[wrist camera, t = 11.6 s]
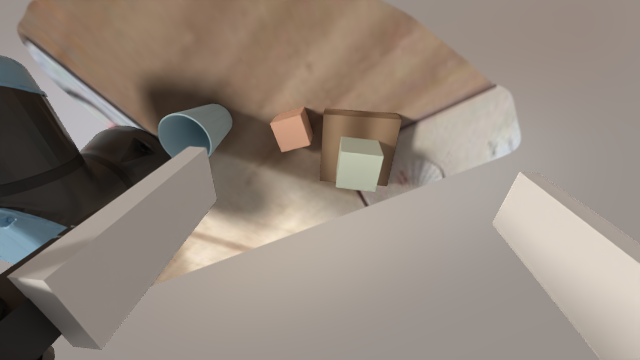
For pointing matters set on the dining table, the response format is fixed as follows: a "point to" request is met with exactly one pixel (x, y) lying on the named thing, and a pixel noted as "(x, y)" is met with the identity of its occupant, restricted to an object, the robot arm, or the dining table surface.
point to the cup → (194, 129)
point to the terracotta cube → (292, 129)
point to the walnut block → (361, 127)
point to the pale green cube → (358, 164)
